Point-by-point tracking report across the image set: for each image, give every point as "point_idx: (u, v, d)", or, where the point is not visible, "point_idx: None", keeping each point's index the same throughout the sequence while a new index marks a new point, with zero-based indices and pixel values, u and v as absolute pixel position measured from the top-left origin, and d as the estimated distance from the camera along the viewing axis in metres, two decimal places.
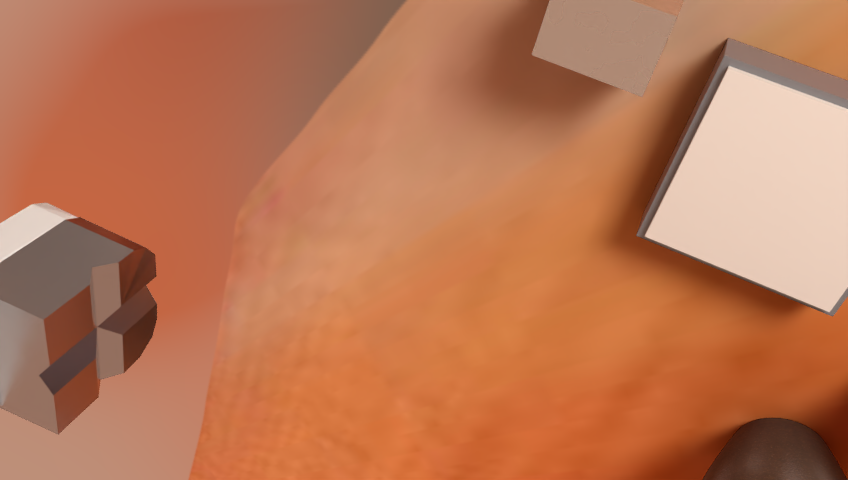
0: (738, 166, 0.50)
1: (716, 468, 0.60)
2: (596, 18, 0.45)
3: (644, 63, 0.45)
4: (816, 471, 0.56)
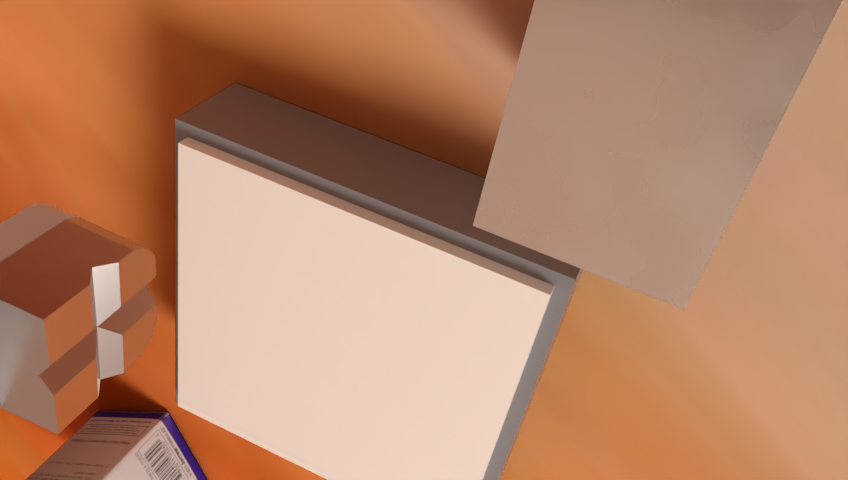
0: (364, 303, 0.26)
1: None
2: (681, 119, 0.15)
3: (559, 233, 0.18)
4: None
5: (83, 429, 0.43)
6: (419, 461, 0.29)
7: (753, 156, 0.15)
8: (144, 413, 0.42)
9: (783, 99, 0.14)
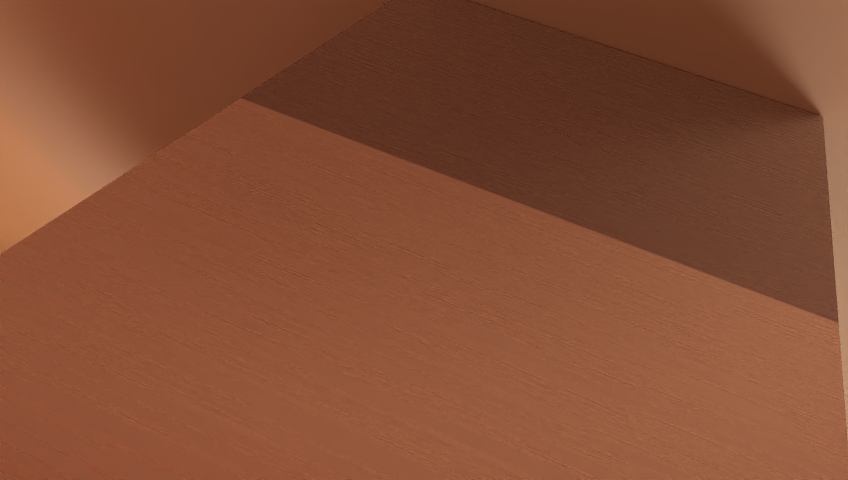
0: None
1: None
2: None
3: None
4: None
5: None
6: None
7: None
8: None
9: None
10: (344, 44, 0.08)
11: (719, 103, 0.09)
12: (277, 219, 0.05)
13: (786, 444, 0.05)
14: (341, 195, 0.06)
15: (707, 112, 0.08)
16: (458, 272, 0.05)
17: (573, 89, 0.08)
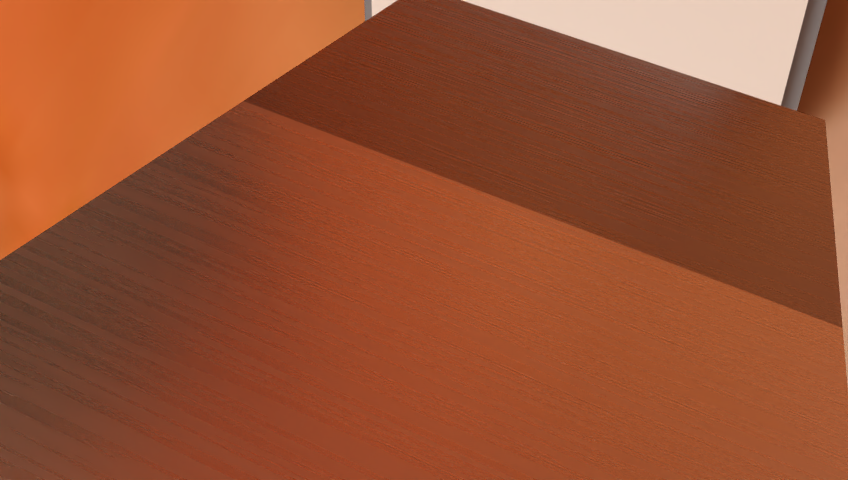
0: (678, 14, 0.23)
1: None
2: None
3: None
4: None
5: None
6: None
7: None
8: None
9: None
10: (347, 46, 0.08)
11: (722, 107, 0.09)
12: (280, 222, 0.05)
13: (792, 451, 0.05)
14: (345, 198, 0.06)
15: (709, 115, 0.08)
16: (462, 276, 0.05)
17: (576, 92, 0.08)
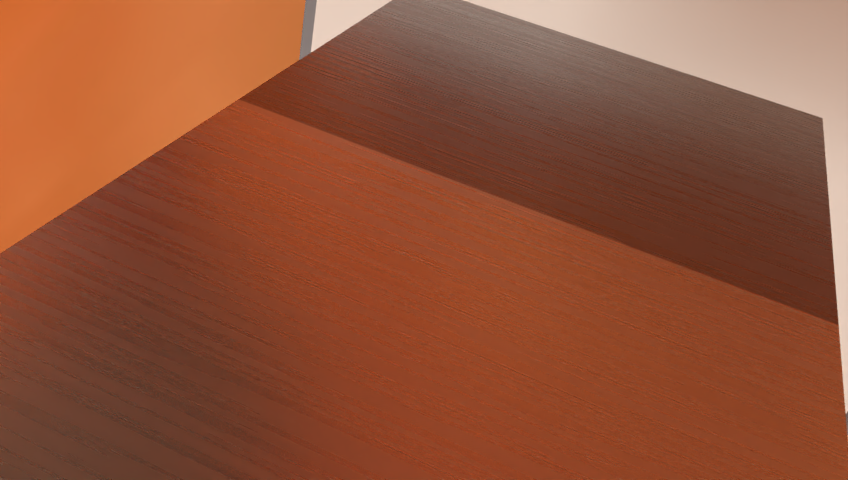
0: None
1: None
2: None
3: None
4: None
5: None
6: None
7: None
8: None
9: None
10: (343, 44, 0.08)
11: (719, 105, 0.09)
12: (275, 221, 0.05)
13: (787, 448, 0.05)
14: (339, 197, 0.06)
15: (706, 113, 0.08)
16: (457, 274, 0.05)
17: (572, 90, 0.08)
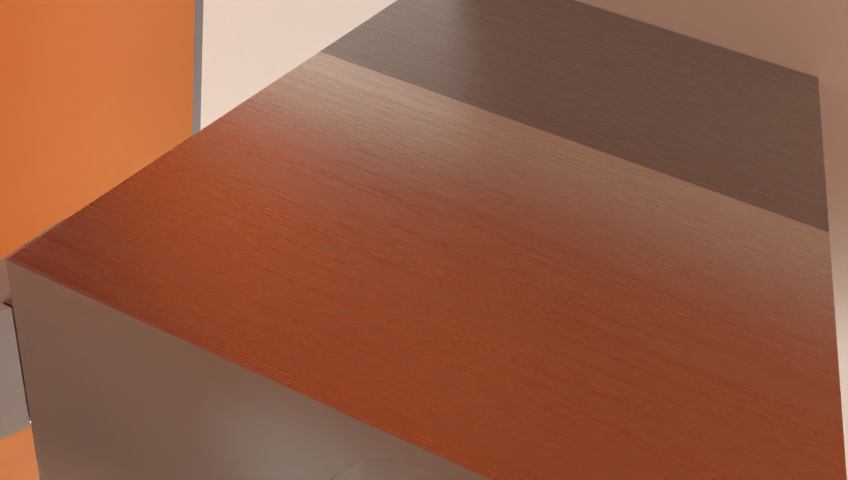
0: None
1: None
2: None
3: None
4: None
5: None
6: None
7: None
8: None
9: None
10: (399, 10, 0.09)
11: (727, 65, 0.10)
12: (365, 143, 0.07)
13: (787, 313, 0.06)
14: (414, 127, 0.07)
15: (715, 71, 0.10)
16: (515, 185, 0.07)
17: (599, 50, 0.09)
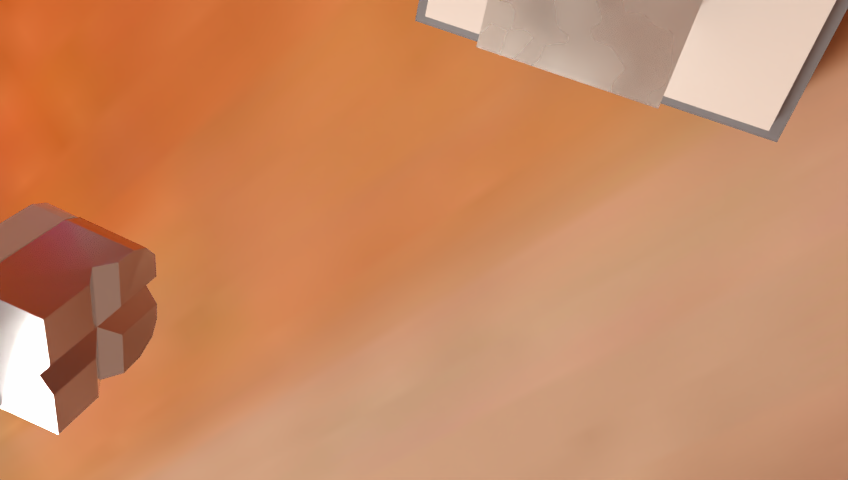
0: None
1: None
2: None
3: (551, 47, 0.20)
4: None
5: None
6: None
7: None
8: None
9: None
10: None
11: None
12: None
13: None
14: None
15: None
16: None
17: None
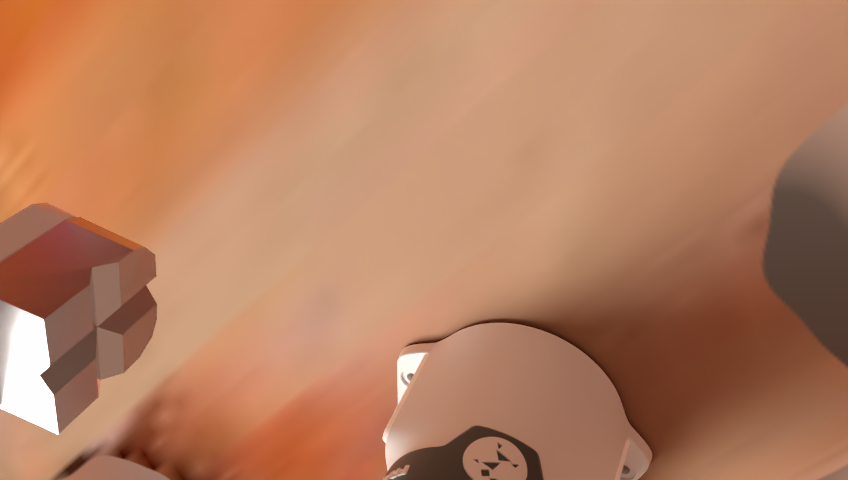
0: None
1: None
2: None
3: None
4: None
5: None
6: None
7: None
8: None
9: None
10: None
11: None
12: None
13: None
14: None
15: None
16: None
17: None
